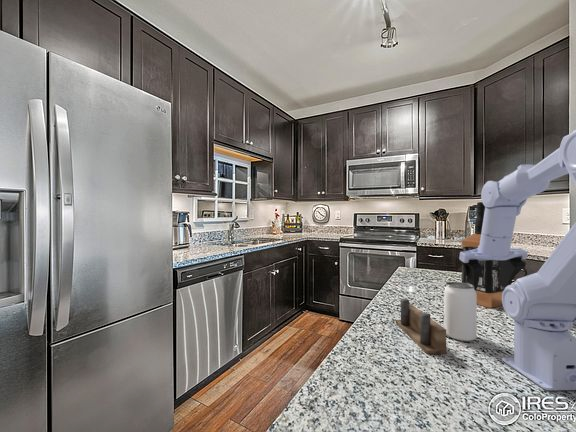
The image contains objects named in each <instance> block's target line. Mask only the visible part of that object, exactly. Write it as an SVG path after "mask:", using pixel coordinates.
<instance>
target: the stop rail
mask: <svg viewBox="0 0 576 432" xmlns="http://www.w3.org/2000/svg"><path fill="white" fill-rule="evenodd" d="M395 324H396V325H397V326H398V327H399V328H400V329H401V330H402V331H403V332H404V333H405V334H406V335H407V336H408V337H409V338H410V339H411V340H412V341H414V343H416V345H417V346H418V347H420V349H421V350H422V351H423V352H424V353H425V354H427V355H439V354H440V355H445V354H447V335H446V329H445V328H444V326H442V325H441V324H439V323H438V322H436V321H435V320H434V319H432V318H431V314H430V313H427V312H423V311H421V310H420V309H418V308H417V307H416V306H414V305H413V304H412V303H410V299H408V298H401V299H400V319H395Z"/></svg>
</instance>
